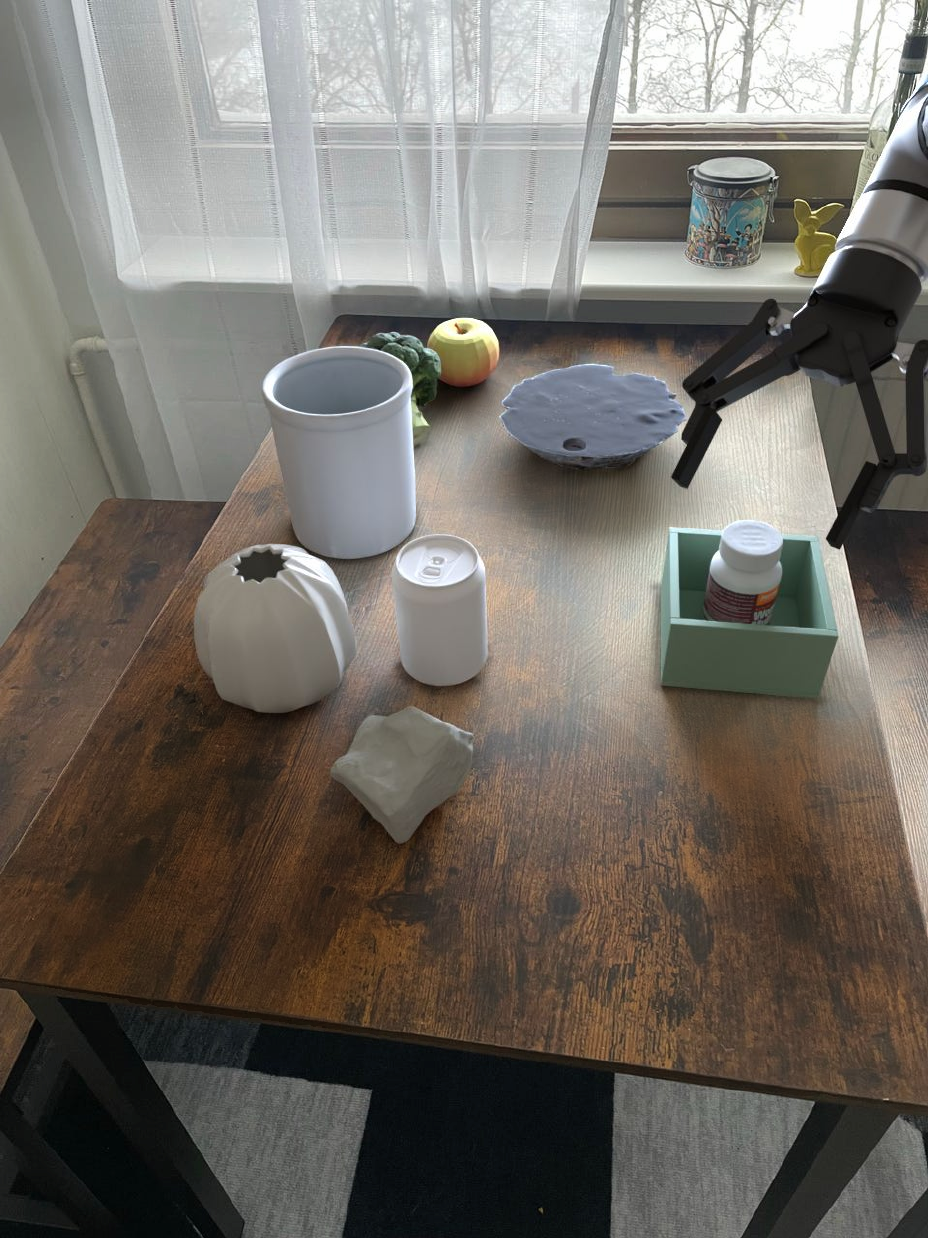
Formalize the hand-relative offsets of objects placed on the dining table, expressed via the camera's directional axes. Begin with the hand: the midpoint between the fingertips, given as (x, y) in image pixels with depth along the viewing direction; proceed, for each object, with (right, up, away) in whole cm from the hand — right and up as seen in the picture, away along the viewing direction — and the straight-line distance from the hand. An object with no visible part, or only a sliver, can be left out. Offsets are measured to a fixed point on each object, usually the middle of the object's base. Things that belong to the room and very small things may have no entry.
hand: (752, 513), depth 75 cm
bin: (+2, -11, +12) cm, 16 cm away
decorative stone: (-29, -22, +1) cm, 36 cm away
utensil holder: (-35, +2, +28) cm, 45 cm away
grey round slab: (-8, +13, +39) cm, 42 cm away
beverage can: (-25, -13, +12) cm, 31 cm away
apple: (-23, +24, +52) cm, 62 cm away
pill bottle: (+2, -10, +12) cm, 16 cm away
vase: (-40, -14, +11) cm, 44 cm away
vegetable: (-31, +16, +44) cm, 56 cm away
